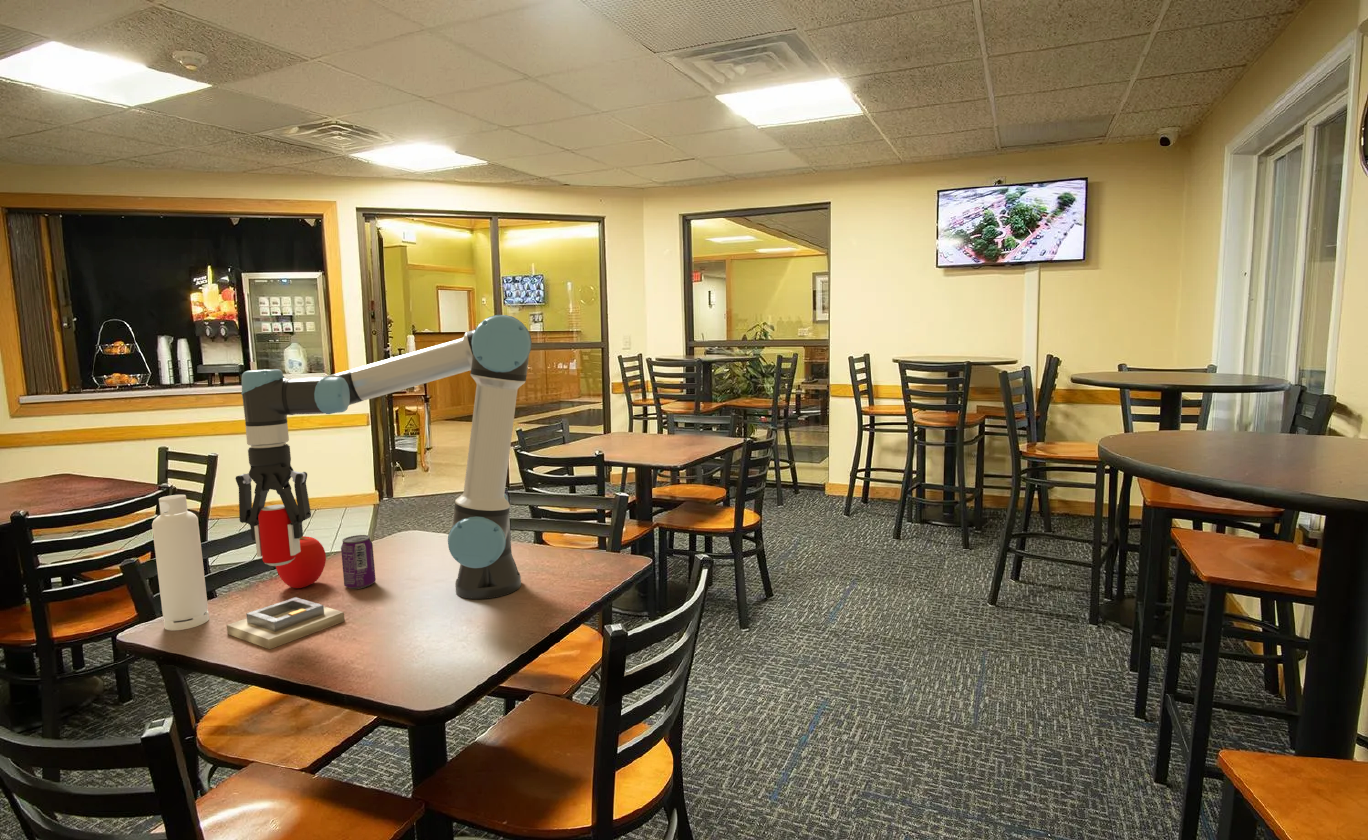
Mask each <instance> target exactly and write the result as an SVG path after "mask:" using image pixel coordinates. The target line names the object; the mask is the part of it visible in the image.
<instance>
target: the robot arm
mask: <svg viewBox="0 0 1368 840" xmlns="http://www.w3.org/2000/svg"><path fill="white" fill-rule="evenodd" d="M532 341H533V340H532V336H531V333H530V331H529V329H528V328H527V326H525V324H524V323H523V322H521V320H519V319H518V318H516V317H514V316H511V315H507V314H494V315H492V316H488V317H486V318H484V319H483V320H482V321H480V323H479V324H478V325H477V326H476V327H475V329H473V330H468V331H466V332H464V335H463V337H461V338H457V339H453V340H451V341H447V342H443V343H439V344H434V345H433V346H429V347H426V348H421V349H418V350H415V351H411V352H407V353H404V354H400V355H397V356H393V357H390V358H387V359H383V360H379V361H376V362H372V363H368V364H365V365H361V366H358V367H355V368H351V369H347V370H343V371H340V372H339V371H338V372H337V373H333V374H329V375H323V376H316V377H302V378H285V376H284V373H283V372H284V371H282V370H281V369H252V370H246V371H244V372H243V373H242V374H241V393H240V394H241V397H242V404H243V413H244V422H245V423H244V424H245V425H244V426H245V436H246V445H248V446H250V447H248V449H247V456H248V464H249V466H250V469H249V471H248V473H243V474H240V475H235V478H234V479H235V481H236V484H237V487H238V510H239V513H238V514H239V518H238V519H239V522H240V523H242V524H248V525H249V527H250V534H251V535H250V536H251V539H252V541H255V547H256V557H262V550H261V540H260V530H259V520H258V516H259V513H260V511H261V509H262V508H264V507H266V506H265V505H266V502H267V496H268V494H269V492H270V490H272V491H275V492H276V493H277V495H279V497H280V499H281V502H282V503H283V504H282V505H284V506H285V509H286V511H287V513H288V516H289V518H290V520H291V523H290V524H289V525H288V535H289V545H290V556H293V555H296V554H297V553H299V552H301V550H300V539H299V538H301V537H302V536H304V529H303V522H304V521H305V520H307V519H310V518H311V517H312V512H311V511H312V510H311V506H310V500H309V493H308V487H307V478H308V472H306V471H303V472H301V471H295V470H294V468H293V467H292V465H291V461H292V457H291V446H290V445H289V444H288V442H289V441H290V437H289V426H288V416H294V415H319V414H321V415H322V414H325V415H331V414H336V413H337V414H338V413H339V414H340V413H344V412H346V411H347V410H348V408H349V406H350V405H354V404H358V403H361V402H364V401H367V400H371V399H375V398H379V397H382V396H385V395H389V394H392V393H396V392H398V391H403V390H407V389H409V388H413V387H416V386H419V385H424V384H427V383H430V382H431V383H432V382H433V381H437V380H441V379H444V378H448V377H453V376H455V375H458V374H459V375H460V374H463V373H465V372H468V371H469V372H470V373H469V374H470V377H471V378H472V379H473V380H474V382H475V384H476V388H475V394H474V395H475V396H474V404H473V413H472V420H471V430H470V437H469V444H468V452H467V462H466V469H465V477H464V486H463V492H462V494H461V495H460V496H458V497H457V498H456V499H455V501H454V508H453V515H452V516H453V517H452V522H451V523H452V524H451V529H450V530H449V533H448V536H447V545H448V550H449V553H450V555H451V556H452V558H453V559H454V560H455V561H456V562H457V563H458V564H459V570H458V573H457V578H456V580H455V593H456V595H457V596H458V597H460V598H464V599H469V600H470V599H471V600H482V599H483V600H485V599H486V600H487V599H492V598H497V597H503V596H506V595H508V594H509V595H510V594H512V593H513V592H515V591H517V590H519V589H520V588H521V587H522V579H521V578H522V576H521V574H520V572H519V570H518V567H517V564H516V562H515V559H514V556H513V553H512V551H513V550H512V537H511V523H510V510H511V509H510V508H511V504H510V502H509V496H508V494H506V493H505V491H506V483H507V476H508V468H509V459H510V451H511V444H512V438H513V428H514V421H515V413H516V405H517V398H518V390H519V388H520V387H522V385H524V384H525V383H526V381H527V375H528V369H529V360H530V353H531V352H532V345H533V343H532ZM291 478H292V482H294V492H295V493H294V494H295V496H294V494H293V492H292V487H291V486H292V485H291V483H290V480H291ZM252 481H253V482H254V484H255V487H254V492H253V491H252ZM252 493H254V498H252V497H253V496H252ZM252 499H253V501H252Z"/></svg>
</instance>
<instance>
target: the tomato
mask: <svg viewBox="0 0 1368 840" xmlns="http://www.w3.org/2000/svg"><path fill="white" fill-rule="evenodd" d="M299 539H300V550H301V552H299V553H297V554H296V557H295V559H294V560H292V561H291V562H290V563H288V564H285V565H280V566H275V569H276V572H277V574H278V576H279V578H280V580H282V581H283V583H284V584H286V585H287V586H288V587H291V588H292V589H293V588H294V589H301V588H305V587H308V586H311V585H312V584H314V583H315V582H317V581H318V580H319V578H320V577H321V576H322V573H323V571H324V569H325V567H326V561H327V556H326V555H327V554H326V550H325V548H324V546H323V544H322V543H321V542H320V541H319V540H318V539H316V538H315V537H312V536H311V537H310V536H305V535H303V536H302V537H301V538H299Z"/></svg>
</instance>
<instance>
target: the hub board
mask: <svg viewBox="0 0 1368 840" xmlns="http://www.w3.org/2000/svg"><path fill="white" fill-rule="evenodd" d="M293 611H296V610H294V609H293V610H290V611H287V612H285V613H282V614H279V615H276V616H273V617H274V618H280V617H283V616H286V615H288V613H291V612H293ZM343 622H345V612H344V611H341V610H338V609H335V608H331V607H327V606H324V614H323V615H321V616H318V617H315V618H312V619H309V620H307V621H304V622H301V623H298V624H296V625H293V626H290V627H287V628H285V629H282V630H279V631H276V632H274V631H271V630H268V629H265V628H262V627H259V626H256V625H253V624H250V623H247V617H246V618H243V619H240V620H237V621H234V622H231V623H228V624H226V633H227V635H229V636H232V637H235V638H238V639H240V640H242V641H244V642H245V641H246V642H247V643H248V642H249V643H250V644H254V645H257V646H260V647H263V648H265V649H267V650H272V649H274V648H278V647H279V646H282V645H285V644H288V643H290V642H293V641H295V640H298V639H300V638H303V637H306V636H309V635H312V634H314V633H317V632H320V631H322V630H325V629H327V628H329V627H333V626H335V625H338V624H340V623H343Z"/></svg>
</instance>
